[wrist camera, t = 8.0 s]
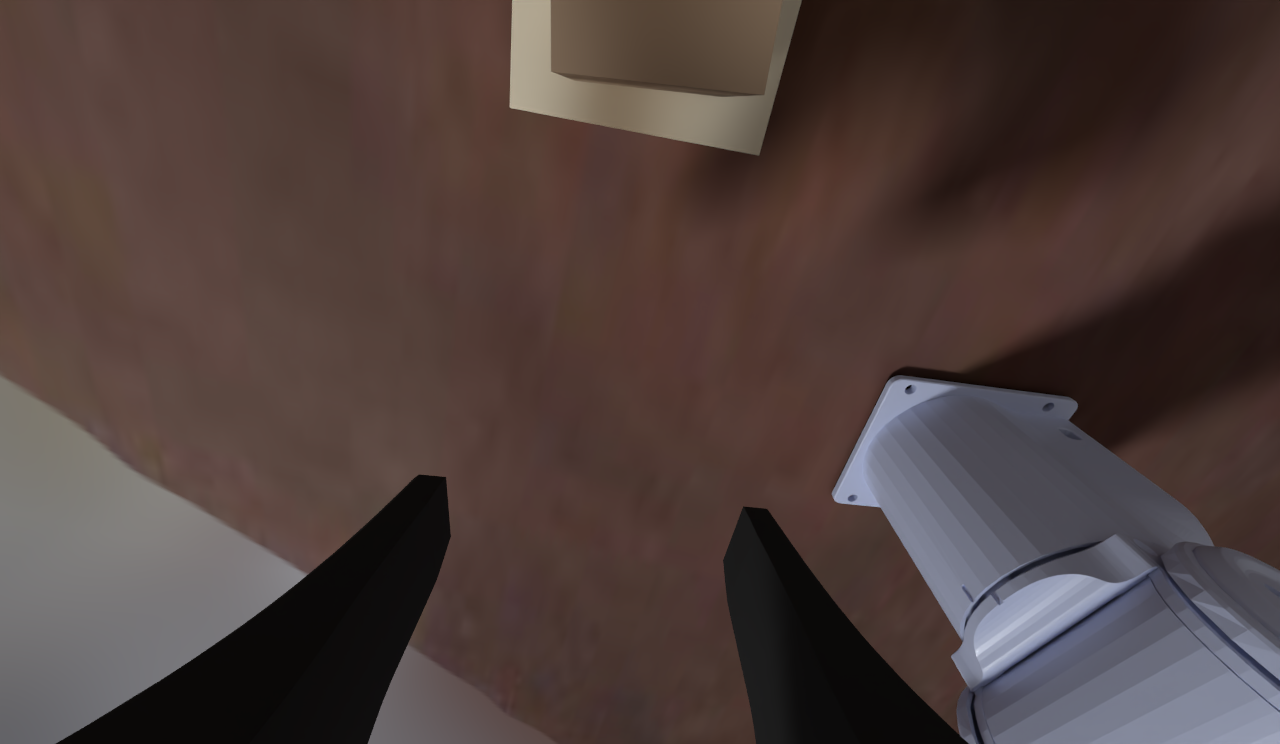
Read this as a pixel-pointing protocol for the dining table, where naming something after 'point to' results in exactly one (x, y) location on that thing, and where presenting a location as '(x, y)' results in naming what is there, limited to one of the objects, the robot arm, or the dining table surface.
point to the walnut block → (666, 44)
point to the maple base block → (639, 91)
